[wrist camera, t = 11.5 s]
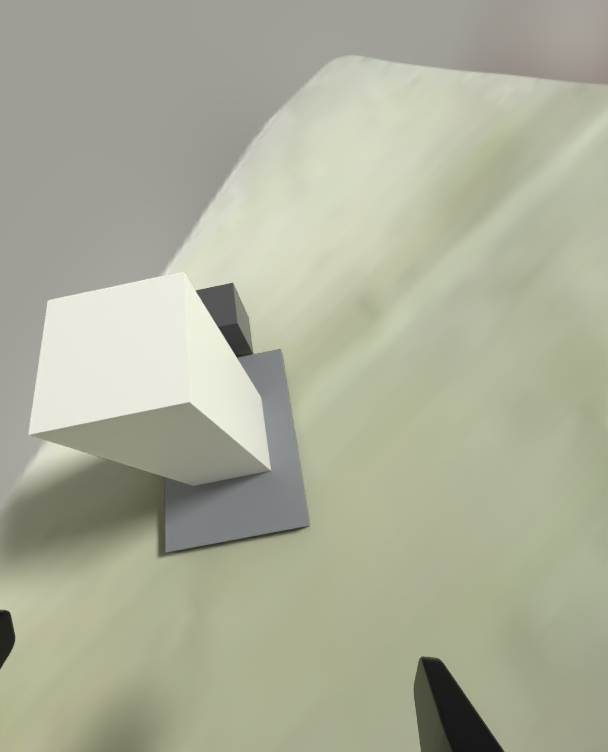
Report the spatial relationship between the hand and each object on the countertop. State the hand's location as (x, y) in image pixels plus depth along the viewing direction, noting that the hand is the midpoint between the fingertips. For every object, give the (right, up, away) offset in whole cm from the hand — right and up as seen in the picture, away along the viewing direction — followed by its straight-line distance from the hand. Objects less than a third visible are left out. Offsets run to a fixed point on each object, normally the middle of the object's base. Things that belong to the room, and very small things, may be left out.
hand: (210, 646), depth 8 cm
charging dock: (-3, +3, +15) cm, 16 cm away
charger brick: (-3, +2, +14) cm, 14 cm away
